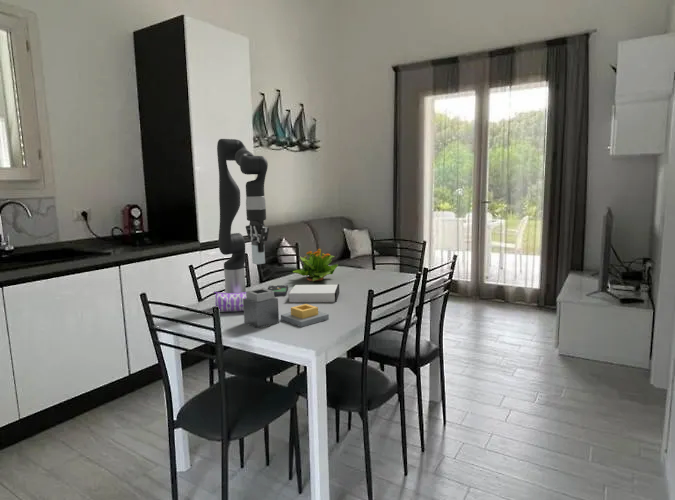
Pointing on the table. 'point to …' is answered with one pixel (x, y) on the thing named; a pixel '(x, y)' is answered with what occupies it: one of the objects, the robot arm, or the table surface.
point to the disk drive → (279, 290)
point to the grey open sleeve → (260, 308)
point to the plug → (257, 253)
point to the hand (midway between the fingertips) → (258, 251)
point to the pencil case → (230, 301)
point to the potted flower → (316, 266)
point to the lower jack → (304, 315)
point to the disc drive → (314, 293)
